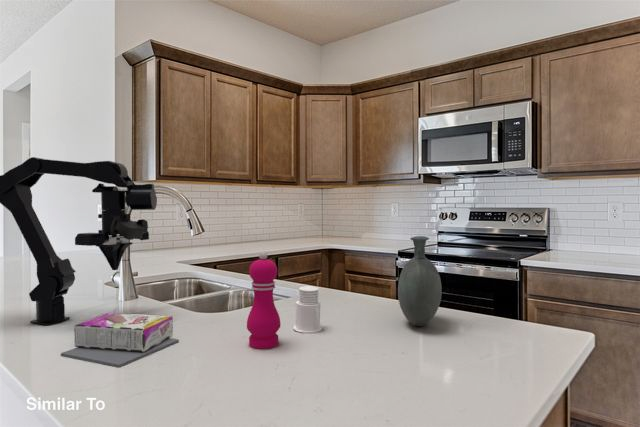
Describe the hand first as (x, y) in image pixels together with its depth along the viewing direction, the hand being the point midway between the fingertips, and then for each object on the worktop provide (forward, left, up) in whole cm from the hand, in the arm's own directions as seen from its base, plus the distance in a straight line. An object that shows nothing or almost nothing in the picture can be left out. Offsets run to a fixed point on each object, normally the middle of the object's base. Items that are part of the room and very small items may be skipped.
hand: (114, 269), depth 115 cm
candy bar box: (+10, -16, -10) cm, 21 cm away
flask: (+74, +26, -13) cm, 80 cm away
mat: (+20, -16, -13) cm, 29 cm away
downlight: (+50, +12, -13) cm, 53 cm away
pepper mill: (+46, -2, -13) cm, 48 cm away
